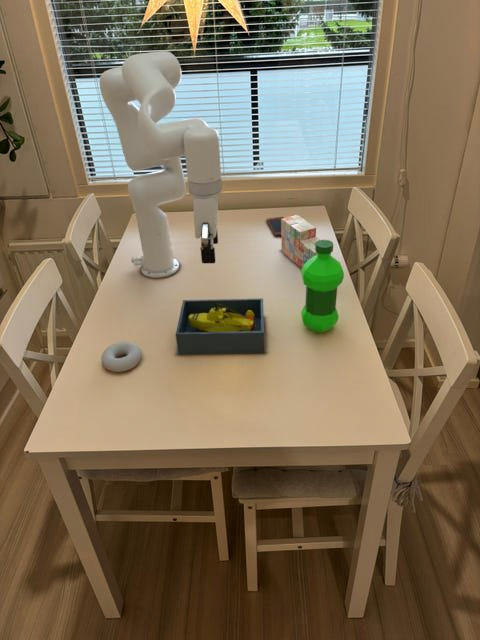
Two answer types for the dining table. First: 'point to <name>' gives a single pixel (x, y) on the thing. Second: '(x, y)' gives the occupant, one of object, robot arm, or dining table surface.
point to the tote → (220, 342)
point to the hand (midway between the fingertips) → (210, 252)
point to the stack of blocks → (298, 239)
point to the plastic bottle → (321, 288)
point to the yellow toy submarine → (222, 321)
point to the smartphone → (275, 225)
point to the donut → (121, 363)
